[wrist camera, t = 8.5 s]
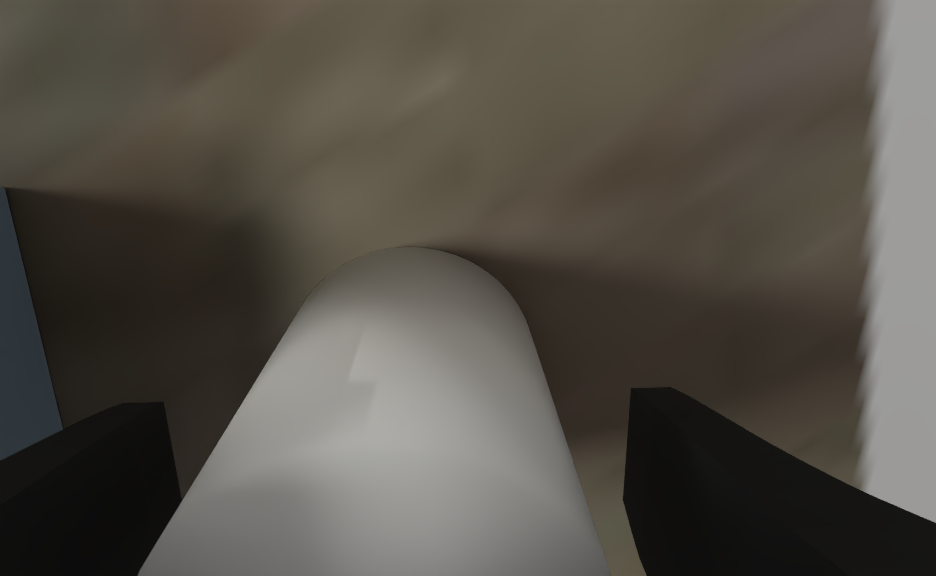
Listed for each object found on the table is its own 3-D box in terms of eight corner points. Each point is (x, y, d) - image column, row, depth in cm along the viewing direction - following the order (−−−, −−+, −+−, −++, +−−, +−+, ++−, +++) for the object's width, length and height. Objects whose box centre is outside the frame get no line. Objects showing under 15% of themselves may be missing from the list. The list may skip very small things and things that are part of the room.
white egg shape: (532, 468, 14) (610, 821, 7) (299, 475, 14) (167, 843, 7) (536, 243, 12) (640, 437, 6) (274, 250, 12) (76, 455, 6)
